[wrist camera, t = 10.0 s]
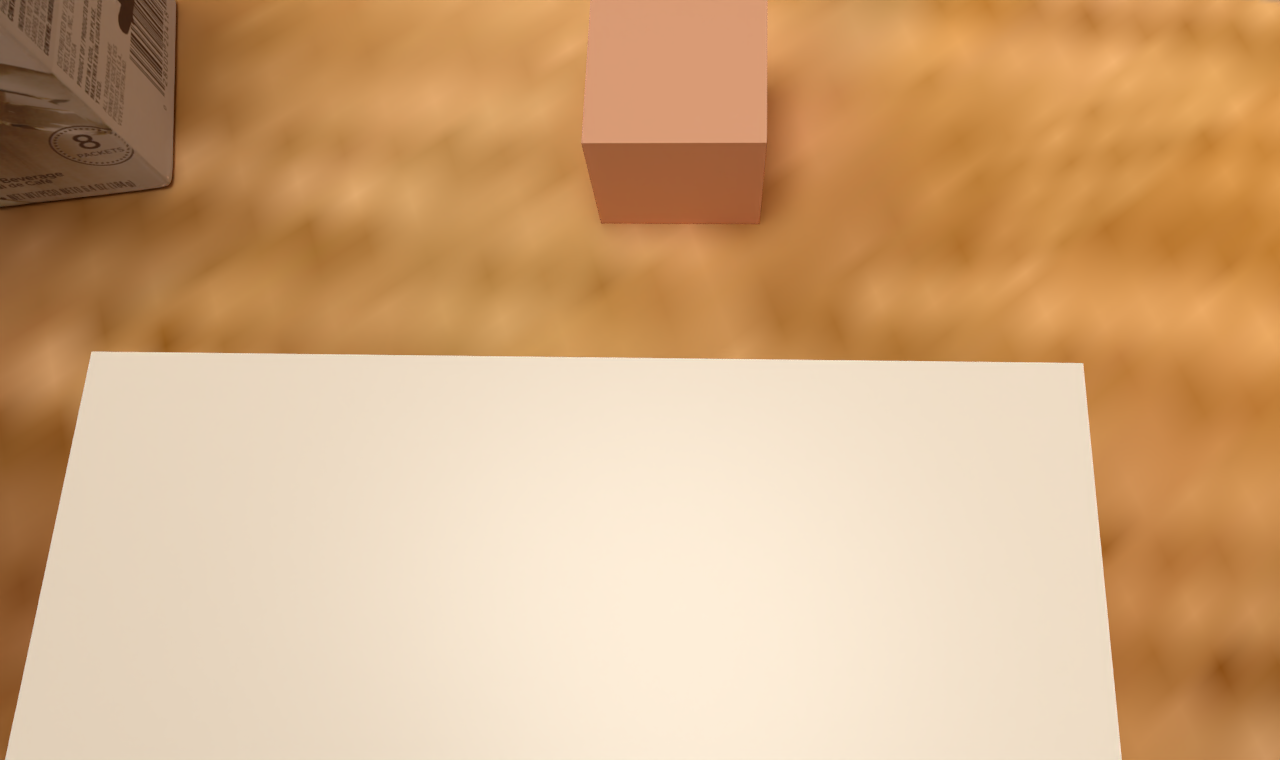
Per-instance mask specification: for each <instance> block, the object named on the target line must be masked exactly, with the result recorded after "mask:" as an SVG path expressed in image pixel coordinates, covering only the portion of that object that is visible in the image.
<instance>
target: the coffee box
mask: <svg viewBox="0 0 1280 760" xmlns="http://www.w3.org/2000/svg"><path fill="white" fill-rule="evenodd" d="M175 37H176V1H175V0H0V207H4V206H12V205H21V204H29V203H36V202H45V201H54V200H63V199H71V198H78V197H86V196H95V195H105V194H113V193H120V192H128V191H137V190H145V189H151V188H159V187H164V186H168V185H169V184H170V182H171V180H172V169H173V127H174V85H175Z"/></svg>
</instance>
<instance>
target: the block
mask: <svg viewBox="0 0 1280 760" xmlns="http://www.w3.org/2000/svg"><path fill="white" fill-rule="evenodd" d="M582 147H583V151H584V155H585V159H586V164H587V168H588V172H589V176H590V180H591V184H592V188H593V192H594V196H595V200H596V204H597V208H598V212H599V216H600V220H601V223H633V224H759V223H760V212H761V202H762V191H763V180H764V169H765V159H766V148H767V0H591V2H590V18H589V33H588V49H587V65H586V80H585V96H584V112H583V127H582Z"/></svg>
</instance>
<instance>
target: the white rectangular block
mask: <svg viewBox="0 0 1280 760" xmlns="http://www.w3.org/2000/svg"><path fill="white" fill-rule="evenodd" d="M5 760H1122V758H1121V747H1120V737H1119V727H1118V717H1117V706H1116V696H1115V686H1114V676H1113V665H1112V655H1111V645H1110V635H1109V624H1108V614H1107V604H1106V594H1105V583H1104V573H1103V563H1102V553H1101V542H1100V532H1099V522H1098V512H1097V501H1096V491H1095V481H1094V470H1093V460H1092V450H1091V440H1090V429H1089V419H1088V409H1087V399H1086V388H1085V378H1084V368H1083V363H1026V362H940V361H854V360H768V359H683V358H597V357H511V356H425V355H339V354H253V353H167V352H91V357H90V362H89V366H88V371H87V376H86V380H85V385H84V390H83V395H82V399H81V404H80V409H79V413H78V418H77V423H76V428H75V432H74V437H73V442H72V447H71V451H70V456H69V461H68V465H67V470H66V475H65V480H64V484H63V489H62V494H61V498H60V503H59V508H58V513H57V517H56V522H55V527H54V532H53V536H52V541H51V546H50V550H49V555H48V560H47V565H46V569H45V574H44V579H43V583H42V588H41V593H40V598H39V602H38V607H37V612H36V616H35V621H34V626H33V631H32V635H31V640H30V645H29V650H28V654H27V659H26V664H25V668H24V673H23V678H22V683H21V687H20V692H19V697H18V701H17V706H16V711H15V716H14V720H13V725H12V730H11V735H10V739H9V744H8V749H7V753H6V758H5Z"/></svg>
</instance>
